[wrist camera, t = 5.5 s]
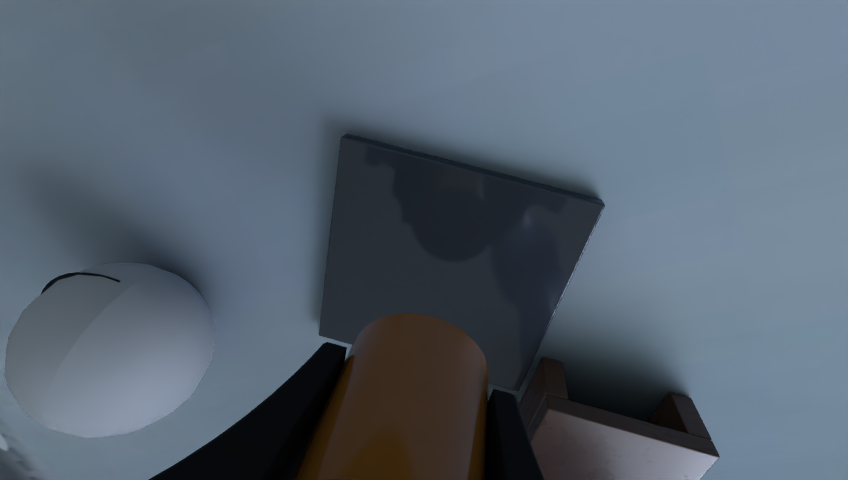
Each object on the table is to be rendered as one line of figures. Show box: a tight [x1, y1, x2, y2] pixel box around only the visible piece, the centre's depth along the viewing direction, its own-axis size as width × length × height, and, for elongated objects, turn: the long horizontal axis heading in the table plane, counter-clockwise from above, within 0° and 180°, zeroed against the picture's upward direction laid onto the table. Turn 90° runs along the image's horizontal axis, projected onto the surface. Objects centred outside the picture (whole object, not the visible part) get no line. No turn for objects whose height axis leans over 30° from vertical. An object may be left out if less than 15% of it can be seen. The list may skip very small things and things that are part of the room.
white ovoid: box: [5, 262, 215, 438], centre depth 19 cm, size 10×7×7 cm
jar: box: [291, 313, 489, 480], centre depth 11 cm, size 5×5×6 cm
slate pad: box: [319, 134, 605, 391], centre depth 18 cm, size 10×10×1 cm
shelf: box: [519, 358, 719, 480], centre depth 20 cm, size 10×7×3 cm
